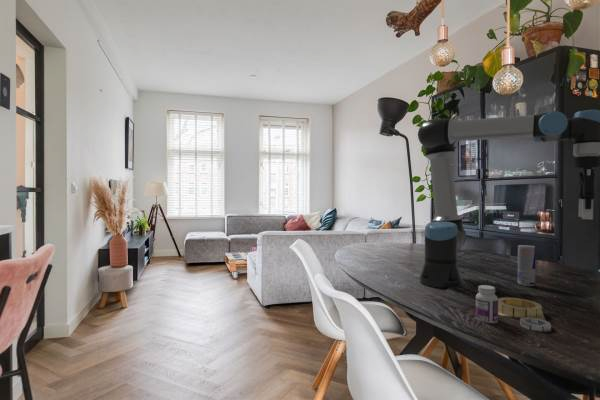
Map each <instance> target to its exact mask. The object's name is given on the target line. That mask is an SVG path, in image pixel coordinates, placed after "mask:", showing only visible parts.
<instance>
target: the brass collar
mask: <svg viewBox="0 0 600 400" xmlns="http://www.w3.org/2000/svg"><path fill="white" fill-rule="evenodd" d="M498 312H500V313H502V314H505V315H508V316H507V317H509V316H512V317H511V318H516V317H517V318H516V319H520V318H525V317H528V318H529V317H530V318H540V317H542V313H543V306H542V305H541V304H540V303H538V302H536V301H533V300H530V299H529V300H528V299H524V298H519V297H500V298H498Z"/></svg>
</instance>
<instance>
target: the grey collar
mask: <svg viewBox="0 0 600 400" xmlns="http://www.w3.org/2000/svg"><path fill="white" fill-rule="evenodd" d="M545 320H546V319H545ZM545 320H542V319H538V318H530V317H529V318H528V317H525V318H519V322H520V324H519V325H520V327H521V328H524V329H527V330H529V331H534V332H539V333H541V332H543V333H546V332H551V331H552V325H551V322H549V321H548V320H546V321H545Z"/></svg>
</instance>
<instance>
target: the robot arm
mask: <svg viewBox="0 0 600 400" xmlns="http://www.w3.org/2000/svg"><path fill="white" fill-rule="evenodd" d="M522 138H523V139H525V138H527V139H529V138H532V140H533V141H534V142H536V143H537V142H538V143H546V142H558V141H560V142H561V141H573V145H572V146H573V147H572V149H573V151H572V152H573V153H572V155H573V156H574V157H572V159H573V161H572V167H573V168H574V169H581V171H580V172H579V173H578V179H579V181H578V184H579V189H578V190H579V191H578V198H579V199H578V218H581V220H594V198H595V195H596V194H595V184H594V183H595V176H596V175H595V170H594V169H599V168H600V110H598V109H587V110H580V111H579V110H578V111H577V112H575V113H574V115H573V117H571V118H570V117H569V118H567V116H566V114H564V113H563V112H561V111H557V110H555V111H554V110H553V111H549V112H546V113H544V114H543V113H542V114H541V113H540V114H527V115H518V116H517V115H515V116H514V115H513V116H503V117H501V116H500V117H489V118H487V117H486V118H474V119H462V120H455V119H453V118H433V119H432V118H431V119H428V120H426V121H425V122H423V123H422V124H421V125H420V127H419V128H418V131H417V139H418V141H419V143H420V144H421V146H423V147H424V153H425V158H427V159H428V160H429V164H430V165H429V166H430V175H431V184H432V194H433V203H434V213H435V216H434V218H433V219H432V220H431V221H432V222H428V223H426V224H425V227H424V263H423V266H422V269H421V272H420V275H419V282H420V283H421V284H422V285H424V286H427V287H433V288H437V289H438V288H439V289H449V287H451V288H460V287H462V286H463V279H462V275H461V273H460V269H459V267H458V250H459V249H461V248H462V247H463V246H464V244H465V242H466V241H467V240H466V239H467V233H466V230H465V229H464V222H463V218H462V217H461V216H460V215H459V214H458V206H457V196H456V186H455V185H456V184H455V178H454V177H455V176H454V168H453V156H454V155H455V153H456V149H455V148H456V147H455V144H456V142H461V141H463V142H464V141H465V142H466V141H484V140H506V139H522Z"/></svg>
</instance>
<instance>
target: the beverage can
mask: <svg viewBox="0 0 600 400" xmlns="http://www.w3.org/2000/svg"><path fill="white" fill-rule="evenodd" d="M517 284H518V285H520V286H523V287H534V286H535V285H536V246H535V245H529V244H528V245H527V244H519V245H517Z"/></svg>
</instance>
